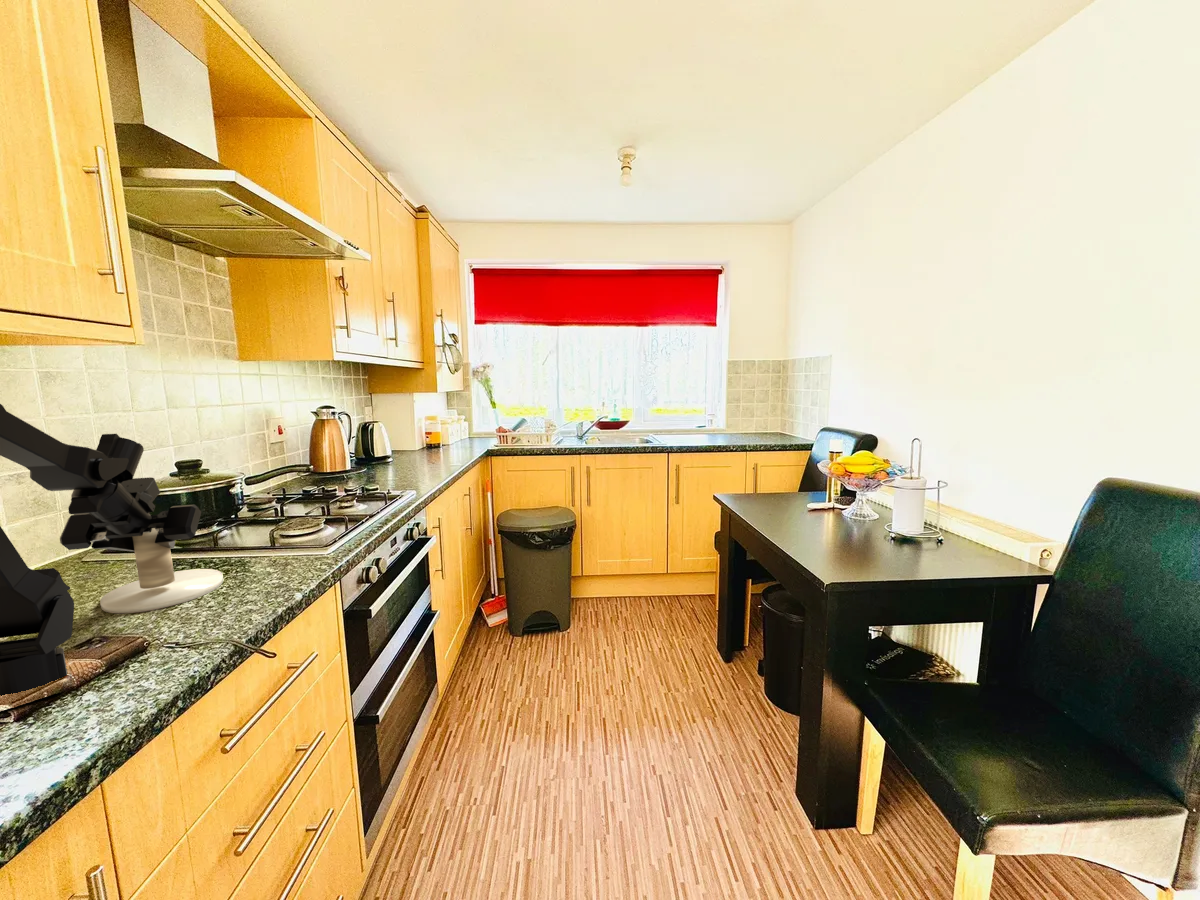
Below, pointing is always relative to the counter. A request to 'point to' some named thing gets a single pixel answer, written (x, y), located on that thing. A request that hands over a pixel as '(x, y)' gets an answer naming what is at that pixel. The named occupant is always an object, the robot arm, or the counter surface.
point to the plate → (162, 592)
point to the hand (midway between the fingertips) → (156, 547)
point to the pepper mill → (152, 561)
